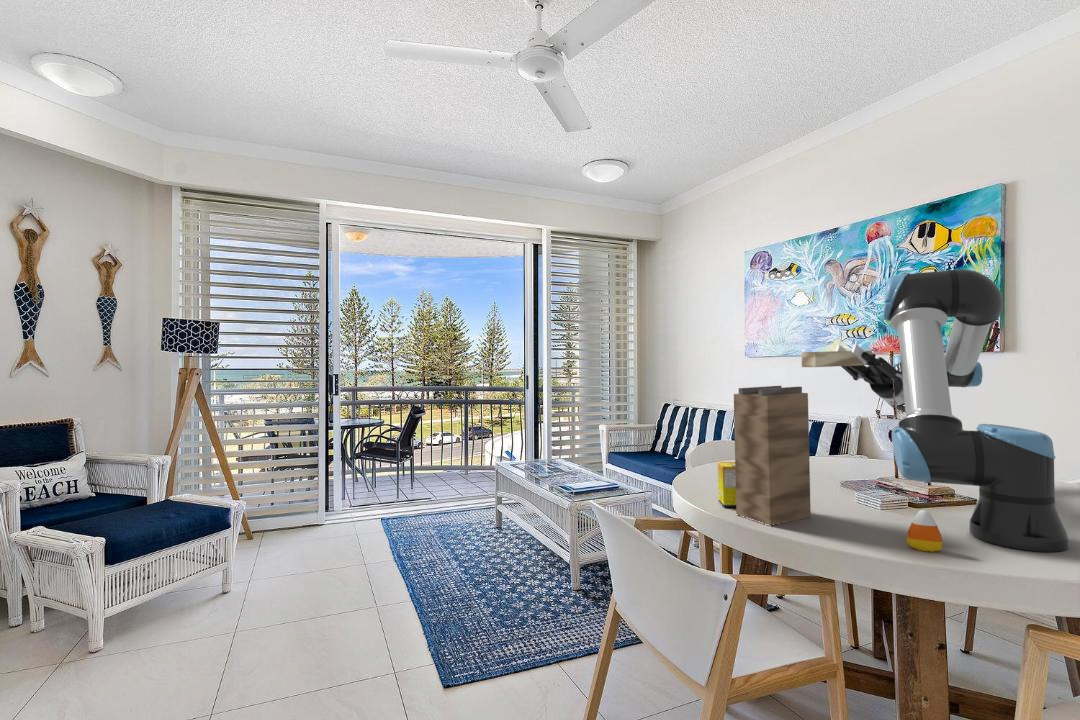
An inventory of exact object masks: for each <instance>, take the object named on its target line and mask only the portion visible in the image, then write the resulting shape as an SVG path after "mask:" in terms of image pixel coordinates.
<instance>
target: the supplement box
mask: <svg viewBox="0 0 1080 720" xmlns="http://www.w3.org/2000/svg"><path fill="white" fill-rule="evenodd" d="M717 488H718V489H717V491H718V503H719V502H720V503H721V504H722V505H721V504H720V503H719V504H720V505H721V507H722V508H724V507H736V475H735V461H717Z"/></svg>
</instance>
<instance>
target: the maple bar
mask: <svg viewBox="0 0 1080 720" xmlns="http://www.w3.org/2000/svg"><path fill="white" fill-rule="evenodd" d="M851 351H852V350H847V351H832V350H831V351H801V368H825V367H826V368H827V367H829V368H830V367H831V368H832V367H841V366H856V365H864V366H868V362H867V364H863V363H862V362H861V361H860V360H859V359H858V358H856V357H855V356H854V355H853V354H852V353H851ZM864 351H865V352H867V353H868V354H870V355H871V354H873V350H864Z"/></svg>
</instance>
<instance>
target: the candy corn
mask: <svg viewBox="0 0 1080 720" xmlns="http://www.w3.org/2000/svg"><path fill="white" fill-rule="evenodd" d="M906 543H907V545H908V546H909V547H911V548H913V549H916V550H917V551H920V550H921V552H926V551H927V552H928V551H930V552H929V553H935V552H938V551H940V550H942V548H943V547H944V544H943V543H944V541H943V537H942V534H941V531H940V529H939V526H938V525H937V522H936V521H935V519H934V518H933V516H932V514H931V513H930V512H929V511H927V510H926V509H920V510H919V511H918V512H917V513H916V515H915V516H914V517H913V519H912V522H911V523H910V525H909V527H908V530H907V534H906Z"/></svg>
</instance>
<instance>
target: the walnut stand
mask: <svg viewBox="0 0 1080 720" xmlns="http://www.w3.org/2000/svg"><path fill="white" fill-rule="evenodd" d="M733 420H734V428H733V429H734V431H733V432H734V462H735V475H736V508H735V512H736V514H738V515H741V516H744V517H748V518H751V519H754V520H757V521H760V522H763V523H766V524H769V525H773V524H778V523H783V524H785V523H784V522H787V523H790V522H789V521H791V522H794V521H795V522H796V521H799V520H800V521H801V520H802V519H807V518H811V517H812V513H811V475H810V474H811V471H810V469H811V468H810V462H811V461H810V428H809V427H810V426H809V425H810V424H809V423H810V422H809V392H803V386H785V387H782V385H769V386H768V385H767V386H754V387H752V386H751V387H739V388H738V393H733ZM736 514H735V515H736ZM778 525H779V524H778Z"/></svg>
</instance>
